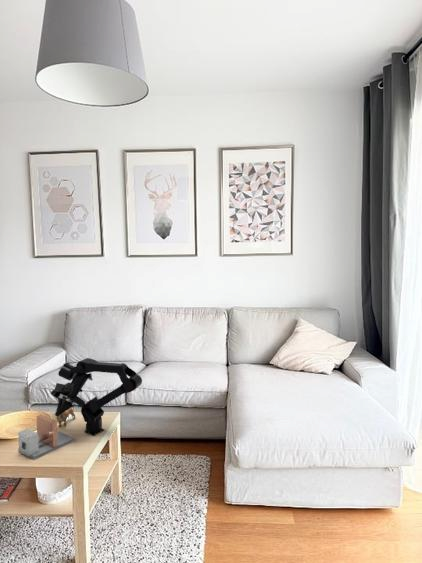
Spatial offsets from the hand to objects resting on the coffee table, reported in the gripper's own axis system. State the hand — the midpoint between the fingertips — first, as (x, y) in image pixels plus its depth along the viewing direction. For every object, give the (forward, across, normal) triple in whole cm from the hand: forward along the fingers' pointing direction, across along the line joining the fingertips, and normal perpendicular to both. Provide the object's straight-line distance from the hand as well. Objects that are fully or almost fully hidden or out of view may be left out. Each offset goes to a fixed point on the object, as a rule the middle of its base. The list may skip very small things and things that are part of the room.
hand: (56, 415), depth 164 cm
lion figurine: (-1, -12, +18) cm, 22 cm away
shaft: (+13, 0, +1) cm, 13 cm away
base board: (+11, 0, +5) cm, 12 cm away
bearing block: (+16, 0, -2) cm, 17 cm away
